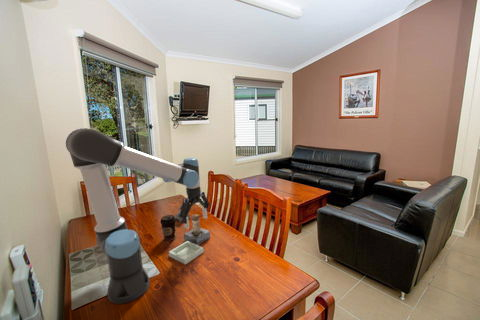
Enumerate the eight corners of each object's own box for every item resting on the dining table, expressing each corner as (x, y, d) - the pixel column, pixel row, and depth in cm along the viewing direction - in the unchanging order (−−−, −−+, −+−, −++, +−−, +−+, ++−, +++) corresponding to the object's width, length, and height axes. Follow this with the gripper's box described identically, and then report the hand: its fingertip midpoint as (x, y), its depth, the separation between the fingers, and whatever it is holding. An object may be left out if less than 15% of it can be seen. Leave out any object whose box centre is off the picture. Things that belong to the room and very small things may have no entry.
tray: (185, 264, 106) (184, 260, 106) (169, 256, 113) (168, 251, 113) (203, 252, 116) (203, 247, 116) (187, 244, 123) (187, 240, 123)
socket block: (196, 245, 122) (196, 239, 121) (184, 240, 127) (183, 233, 127) (209, 237, 130) (209, 231, 129) (197, 232, 135) (197, 226, 135)
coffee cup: (172, 243, 125) (170, 221, 123) (159, 242, 127) (156, 220, 125) (180, 235, 134) (178, 214, 131) (167, 234, 135) (164, 213, 133)
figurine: (183, 214, 162) (182, 200, 161) (191, 218, 155) (189, 203, 153) (172, 218, 157) (171, 203, 155) (180, 222, 150) (178, 207, 148)
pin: (197, 241, 126) (195, 218, 123) (192, 239, 128) (190, 216, 125) (202, 238, 129) (200, 215, 126) (197, 236, 131) (195, 213, 129)
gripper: (179, 194, 111) (183, 235, 115) (214, 181, 130) (216, 216, 134) (169, 192, 115) (173, 231, 119) (204, 179, 135) (207, 213, 139)
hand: (196, 223), depth 127 cm, fingers open, 13 cm apart
